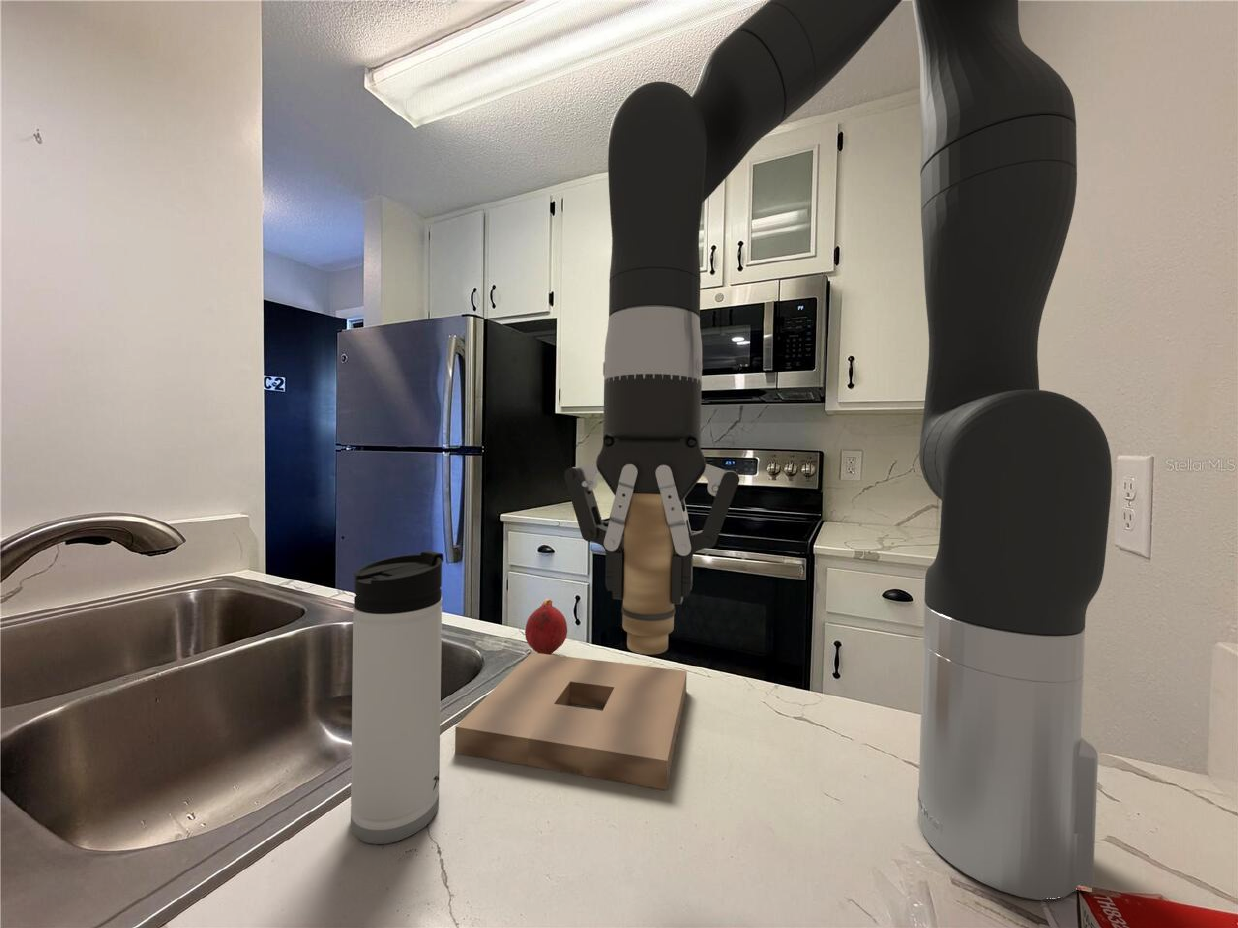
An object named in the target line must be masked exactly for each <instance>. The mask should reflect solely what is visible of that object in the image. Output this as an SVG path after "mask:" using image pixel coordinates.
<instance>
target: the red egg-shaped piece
mask: <svg viewBox="0 0 1238 928" xmlns="http://www.w3.org/2000/svg"><path fill="white" fill-rule="evenodd" d="M524 634H525V635H524V636H525V640H526V642H527V645H528V646H529V647H530V648H532V649H531V650H533V651H534V653H540V654H548V655H553V653H555V652H556V651H557V650H559V649H560V647H561V646H562V645H563V644H564V642H565V640H566V639H567V637H568V636H567V635H568V625H567V620H566V617H565V616H564V614H563V613H562V611H560V610H559V609H558V608H556V607H555V606H553V600H552V599H550V598H546V599H544V601H543V602H542V604H541V606H539V607H538V608H537V609H535V610H534V611H532V612H531V614H530V615H529V617H528V619H527V622H526V625H525V631H524Z"/></svg>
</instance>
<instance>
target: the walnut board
mask: <svg viewBox="0 0 1238 928" xmlns="http://www.w3.org/2000/svg"><path fill="white" fill-rule="evenodd" d="M687 674H688V671H687V670H684V669H683V670H682V669H672V668H667V667H665V668H664V667H657V666H648V665H639V664H631V663H625V662H624V663H623V662H622V663H621V662H616V661H607V660H598V659H588V658H583V657H582V658H580V657H572V656H564V655H558V654H557V655H555V654H551V655H548V654H540V653H537V652H531V653H530V654H528V656H526V658H525V659H524V660H522V662H521V663H519V664H518V665H517V666H516V667H515V668H514V669H513V670H512V671H511V672H510V673H509V674H508V675H507V676H506V677H504V679H503V680H502V681H501V682H500V683H499V684H498V685H497V686H496V687H494V689H493V690H492V691H491V692H489V693H488V694H487V695H486V696H485V697H484V698H483V700H481V701H480V702H479V703H478V704H477V705H476V706H475V707H474V708H472V710H470V712H469V713H468V714H467V715H466V716H465V717H463V719H461V720H460V722H458V723H457V724H456V725H455V729H454V731H455V733H454V753H455V754H460V755H465V756H471V757H476V758H483V759H488V760H493V761H498V762H505V763H511V764H517V765H523V766H528V767H532V768H533V767H534V768H539V769H545V770H551V771H556V772H562V773H569V774H573V775H580V776H585V777H590V778H597V779H603V780H608V781H615V782H620V783H624V784H629V785H630V784H631V785H637V786H641V787H642V786H643V787H647V788H654V789H660V790H666V791H667V790H668V785H669V779H670V775H671V770H672V765H673V761H674V760H673V759H674V755H675V751H676V745H677V740H678V735H679V730H680V724H681V720H682V714H683V709H684V705H685V698H686V694H687ZM570 704H572V705H579V706H587V707H594V708H600V709H601V708H602V710H599V709H593V708H592V709H591V708H585V707H578V706H572V705H570Z"/></svg>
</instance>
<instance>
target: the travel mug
mask: <svg viewBox="0 0 1238 928" xmlns="http://www.w3.org/2000/svg"><path fill="white" fill-rule="evenodd" d="M443 562H444V554H443V553H441V552H436V551H431V550H427V551H422V552H420V553H419V554H405V555H398V556H392V557H388V558H384V559H383V558H382V559H380V560H377V561H374V562H371V563H368V564H366V565H364V566H361V568H359V569H357V570H356V571H355V573H354V595H355V596H354V598H353V599H354V600H353V602H354V603H353V606H352V607H353V609H352V611H353V612H352V613H353V617H352V618H353V619H352V684H351V685H352V688H351V689H352V691H351V692H352V694H351V695H352V701H351V705H352V707H351V708H352V709H351V777H350V778H351V781H350V783H351V786H350V805H351V806H350V829H351V831H352V834H353V835H354V836H355V837H356V838H357V839H359V840H360V841H362V842H364V843H367V844H375V845H376V844H377V845H380V844H381V845H382V844H383V845H384V844H391V843H396V842H398V841H402V840H404V839H406V838H409V837H411V836H412V835H415V834H416V833H418V832H419V831H421V830H423V828H425V827H426V826H427V825H428V824H429V823H430V822H431V821H432V820H433V819H434V816H436V814H437V812H438V809H439V806H440V781H441V780H440V779H441V778H440V771H441V769H440V768H441V760H440V759H441V711H442V710H441V708H442V707H441V703H442V702H441V698H442V639H443V638H442V637H443V636H442V635H443V634H442V632H443V626H442V625H443V607H442V605H443V596H442V589H441V587H442V584H443V579H442V578H443V575H442V574H443Z"/></svg>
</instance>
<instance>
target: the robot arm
mask: <svg viewBox="0 0 1238 928" xmlns="http://www.w3.org/2000/svg"><path fill="white" fill-rule="evenodd" d="M902 1H903V0H768V2H767V1H766V3H765V4H764V5H763V6H761V7H760V8H759V9H758V10H757V11H755V12H754V13H753V14H752V15H751V16H749V17H748V19H746V20H745V21H744V22H743V23H741V24H740V25H739V26H738V27H737V28H735V30H734V31H732V32H731V33H730V34H729V35H728V36H726V37H725V38H724V39H723V40H722V41H721V42H720V43H719V44H718V45H717V46H716V47H715V48H714V49H713V50H712V51H711V53H709V55H708V57H707V59H706V60H705V62H704V64H703V66H702V69H701V72H700V75H699V77H698V81H697V83H696V86H695V87H694V88H695V89H694V90H693V92H692V93H691V95H690V94H689V93H688V92H687V91H686V90H684V88H682V87H680V86H679V85H676V84H674V83H672V82H671V83H670V82H667V81H661V80H660V81H652V82H648V83H645V84H643V85H641V86H638V87H637V88H636V89H634V90H632V91H631V92H630V93H629V94H628V95H627V96H626V97H625V98H624V99H623V101H622V102H621V104H620V105H619V106H618V108H617V110H616V111H615V114H614V116H613V118H612V121H611V125H610V128H609V133H608V140H607V168H608V169H607V174H608V175H607V177H608V195H609V197H608V199H609V212H610V213H609V214H610V225H611V226H610V227H611V238H612V239H611V258H610V260H611V261H610V268H609V279H608V280H609V293H608V296H609V297H608V301H609V303H608V321H607V322H608V323H607V325H608V326H607V332H606V336H605V337H606V338H605V345H604V360H603V363H602V375H603V379H604V380H603V414H602V415H603V416H602V418H603V419H602V420H603V422H602V424H603V425H602V427H603V428H602V447H601V449H600V452H599V454H598V455H597V457H596V459H595V460H596V461H594V462H591V463H588V464H584V465H581V466H573V467H568V468H566V469H565V471H564V474H563V477H564V480H565V481H564V482H565V483H566V484H565V485H566V487H567V491H568V494H569V497H570V501H571V504H572V508H573V511H574V514H575V518H576V520H577V525H578V527H579V531H580V534H581V537H582V538H583V540H585V541H586V542H593V543H596V544H597V545H599V546H601V547H602V548H603V549H604V551H605V573H604V575H605V579H604V580H605V581H604V582H605V583H604V584H605V588H606V590H607V592H612V599H613V600H622V601H623V567H624V529H625V523H626V519H627V514H628V510H629V506H630V501H631V497H632V494H633V493H644V494H661V497H662V501H663V505H664V509H665V513H666V517H667V521H668V525H669V527H670V530H671V534H672V538H673V542H674V546H675V554H674V555H673V558H672V604H674V605H682V603H683V601H684V598H689V595H690V594H691V591H692V589H693V567H694V565H693V564H694V563H693V560H694V554H695V553H697V552H698V551H703V550H704V549H711V548H713V547H714V546H715V545H716V543H717V540H718V539H719V535H720V532H722V531H721V530H722V527H723V525H724V521H726V518H727V514H728V512H729V509H730V506H731V503H732V502H733V499H734V496H735V493H736V491H737V488H738V486H739V482H740V477H739V475H738V473H737V472H736V471H734V470H726V469H723V468H720V467H717V466H715V465H711V464H709V463H707V459H706V457H705V455H704V454H703V451H702V447H701V433H702V432H701V428H702V427H701V425H702V388H703V387H702V382H703V381H702V380H703V379H702V377H703V367H704V366H703V340H702V333H701V323H700V322H701V317H700V316H701V282H702V280H701V277H702V276H701V262H700V261H701V260H700V232H701V231H700V229H701V222H702V211H703V210H702V209H703V203H704V202H705V201H706V200H707V199H708V198H709V197H710V196H711V195H712V194H713V192H715V191H716V190H717V189H718V188H719V186H720V185H721V184H722V183H723V182H724V181H725V180H726V178H728V176H729V175H730V174H731V173H732V172H733V171H734V170H735V169H736V167H738V165H739V164H740V163H741V161H742V160H743V159H744V157H746V155H747V154H748V153H749V152H750V150H751V149H752V148H753V147H754V146H755V145H756V144H757V143H758V142H759V141H760V140H761V139H762V138H764V137H765V136H767V135H768V134H769V133H770V132H772V131H773V130H775V129H776V128H778V126H779V125H781V124H783V122H784V121H786V120H787V119H788V118H790V117H791V116H792V115H793V114H794V113H795V112H796V111H798V110H799V109H800V108H801V107H803V106H804V105H805V104H806V103H808V102H809V101H810V100H811V99H813V98H814V97H815V95H817V94H818V93H819V92H820V91H821V90H823V88H824V87H825V86H827V85H828V84H829V83H830V82H831V81H832V79H834V78H835V77H836V75H837V74H839V73H840V72H841V70H843V68H845V66H847V64H849V62H850V61H851V60H852V59H853V58H854V57H855V55H856V54H857V53H858V52H860V51H861V49H862V48H863V47H864V45H865V44H866V43H867V42H868V41H869V40H870V39H871V37H872V36H873V35H874V34H875V32H876V31H877V30H878V29H879V28H880V27H881V25H882V24H884V22H885V21H886V19H888V17H889V16H890V14H892V13H893V11H894V10H895V9H896V8H897V7H898V5H899V4H900V3H901V2H902ZM911 2H912V9H913V16H914V17H913V18H914V23H915V29H916V35H917V36H916V37H917V47H918V55H919V67H920V68H919V72H920V73H919V74H920V75H919V76H920V78H919V79H920V81H919V86H920V87H919V103H920V105H919V107H920V109H919V110H920V112H919V113H920V138H921V139H920V140H921V141H920V143H921V144H920V145H921V146H920V171H919V173H920V174H919V175H920V221H921V222H920V224H921V226H920V227H921V238H922V256H923V259H922V260H923V280H924V283H923V284H924V296H925V307H926V309H925V310H926V318H927V329H928V362H927V364H928V365H927V376H926V384H925V385H926V386H925V395H924V405H923V415H922V421H921V423H922V424H921V430H920V439H919V440H920V441H919V452H918V454H919V455H918V458H919V459H918V460H919V466H920V470H921V473H922V476H923V479H924V481H925V482H926V484H927V486H928V487H929V489H930V490H931V492H932V493H933V494H934V495H935V496H936V498H938V499H939V500H940V501H941V509H940V510H941V511H940V526H939V527H940V528H939V540H938V541H939V542H938V549H937V553H936V557H935V558H934V561H933V563H932V564H931V565H930V566H929V567H928V568H927V570H926V572H925V576H924V604H923V633H922V640H923V641H922V663H921V664H922V665H921V666H922V667H921V670H922V671H921V695H920V696H921V699H920V700H921V701H920V702H921V703H920V726H919V727H920V729H919V730H920V732H919V733H920V736H919V761H918V763H919V764H918V767H919V768H918V769H919V770H918V787H917V824H918V827H919V829H920V832H921V834H922V835H923V837H924V839H925V840H926V841H927V843H928V844H929V845H930V846H931V847H932V848H933V850H934V851H935V852H936V853H937V854H939V855H940V856H941V857H942V858H944V859H945V860H946V861H947V862H948V863H949V864H950V865H952V866H954V867H955V868H956V869H958V870H960V871H961V872H962V873H964V874H966V875H967V876H969V877H971V878H973V879H975V880H976V881H978V882H980V883H982V884H985V885H986V886H988V887H992V888H994V889H996V890H998V891H1000V892H1004V893H1007V894H1009V895H1012V896H1013V895H1014V896H1016V897H1020V898H1024V899H1029V900H1030V899H1031V900H1036V901H1044V900H1043V899H1047V898H1048V899H1050V898H1051V899H1052V898H1058V897H1060V899H1064V898H1065V897H1067V896H1068V895H1071V894H1072V893H1074V892H1077V891H1076V888H1077V886H1078V885H1081V886H1086V887H1089V888H1093V889H1094V875H1095V874H1094V873H1095V872H1094V871H1095V848H1096V847H1095V845H1096V841H1095V840H1096V825H1097V823H1096V822H1097V821H1096V819H1097V817H1096V816H1097V798H1098V797H1097V795H1098V794H1097V793H1098V792H1097V791H1098V771H1099V770H1098V768H1099V755H1098V752H1097V750H1096V748H1095V747H1094V746H1093V745H1092V744H1091V743H1090V742H1088V741H1087V740H1086V739H1085V738H1083V736H1082V728H1083V726H1082V725H1083V721H1082V720H1083V702H1084V701H1083V698H1084V668H1085V667H1084V664H1085V640H1086V639H1085V637H1086V636H1085V635H1086V630H1085V629H1086V617H1087V609H1088V606H1089V605H1090V604H1091V601H1092V600H1093V599H1094V597H1095V595H1096V594H1097V592H1098V590H1099V588H1100V587H1101V586H1100V585H1101V583H1102V581H1103V577H1104V569H1105V565H1106V564H1105V561H1106V552H1107V542H1108V533H1109V532H1108V531H1109V523H1110V522H1109V521H1110V511H1111V510H1110V509H1111V500H1112V499H1111V498H1112V489H1113V488H1112V486H1113V468H1112V464H1113V463H1112V455H1111V450H1110V445H1109V441H1108V438H1107V435H1106V433H1105V431H1104V429H1103V427H1102V425H1101V424H1100V422H1099V420H1097V419H1098V418H1096V417H1095V415H1094V414H1093V413H1092V412H1091V411H1090V410H1089V409H1087V408H1086V407H1085V406H1084V405H1082V404H1081V403H1079V401H1076V400H1075V399H1073V398H1071V397H1068V396H1066V395H1064V394H1061V393H1057V392H1054V391H1048V390H1043V389H1042V390H1041V389H1040V379H1039V378H1040V377H1039V376H1040V375H1039V364H1038V361H1039V360H1038V346H1039V345H1038V344H1039V343H1038V341H1039V333H1040V325H1041V322H1042V316H1043V312H1044V309H1045V306H1046V302H1047V300H1048V296H1049V292H1050V291H1051V287H1052V284H1053V281H1054V277H1055V276H1056V272H1057V269H1058V266H1059V263H1060V261H1061V257H1062V255H1063V251H1064V247H1065V243H1066V240H1067V237H1068V233H1069V229H1070V225H1071V221H1072V218H1073V213H1074V209H1075V203H1076V196H1077V184H1078V163H1077V162H1078V161H1077V160H1078V159H1077V155H1078V153H1077V151H1078V149H1077V120H1076V119H1077V118H1076V108H1075V102H1074V98H1073V95H1072V92H1071V90H1070V88H1069V87H1068V85H1067V83H1066V82H1065V80H1064V78H1062V76H1061V75H1060V74H1059V73H1058V72H1057V71H1056V70H1055V69H1054V68H1053V67H1051V66H1050V63H1049V64H1048V63H1047V62H1046V61H1044V60H1043V58H1041V57H1040V56H1039V55H1037V54H1036V53H1035V52H1034V51H1033V50H1031V49H1030V48H1029V47H1028V46H1027V45H1026V44H1025V42H1024V40H1023V38H1022V34H1021V32H1020V25H1019V0H911ZM599 475H601V477H602V479H603V480H604V482H605V483H606V484H607V486H608V487H609V490H610V491H611V492H612V493H613V495H614V499H613V503H612V507H611V510H610V514H609V522H608V525H607V526H605V525H604V523H603V519H602V517H601V513H600V510H599V507H598V504H597V500H596V496H595V493H594V490H595V489H597V488H598V477H599ZM702 476H703V477H704V478H706V481H707V493H708V494H710V495H711V496H713V497H714V500H713V502H712V505H711V507H710V510H709V512H708V515H707V518H706V520H705V523H704V525H703V527H702V530H698V531H694V532H692V529H691V525H690V522H689V515H688V510H687V507H686V501H685V499H686V498H687V496H688V495H689V493H690V492H691V491H692V489H693V488H694V487H695V486H696V485H697V483H698V482H699V481H700V479H701V478H702ZM669 495H670V498H669ZM672 507H673V508H674V510H673V509H672ZM1061 897H1063V898H1061Z"/></svg>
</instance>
